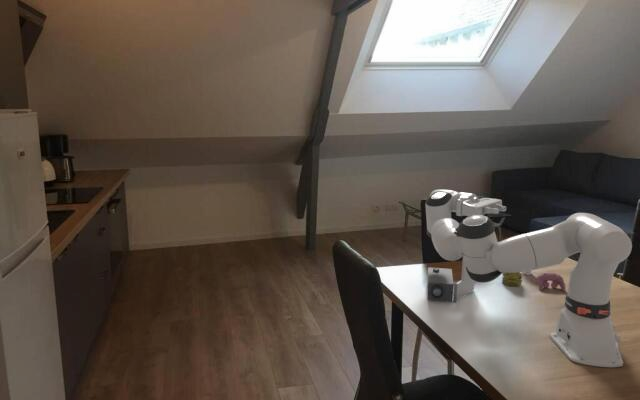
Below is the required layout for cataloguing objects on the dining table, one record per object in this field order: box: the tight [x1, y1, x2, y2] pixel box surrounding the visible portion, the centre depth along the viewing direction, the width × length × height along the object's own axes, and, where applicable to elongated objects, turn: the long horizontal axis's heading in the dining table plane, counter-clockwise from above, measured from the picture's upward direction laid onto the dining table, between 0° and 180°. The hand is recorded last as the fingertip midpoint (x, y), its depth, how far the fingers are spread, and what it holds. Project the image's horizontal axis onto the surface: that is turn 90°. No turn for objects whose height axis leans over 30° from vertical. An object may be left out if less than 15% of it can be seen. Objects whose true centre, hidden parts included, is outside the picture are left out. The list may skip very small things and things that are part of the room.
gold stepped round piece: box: [501, 272, 524, 288], centre depth 196 cm, size 7×7×10 cm
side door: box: [452, 257, 476, 303], centre depth 183 cm, size 16×1×19 cm, turn 138°
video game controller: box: [536, 272, 566, 292], centre depth 193 cm, size 10×5×7 cm, turn 84°
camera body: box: [426, 266, 455, 303], centre depth 187 cm, size 18×9×8 cm, turn 168°
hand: (501, 210), depth 184 cm, fingers open, 4 cm apart
